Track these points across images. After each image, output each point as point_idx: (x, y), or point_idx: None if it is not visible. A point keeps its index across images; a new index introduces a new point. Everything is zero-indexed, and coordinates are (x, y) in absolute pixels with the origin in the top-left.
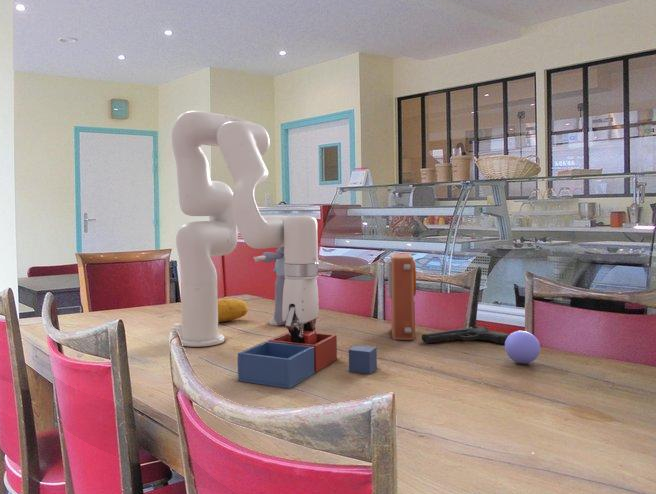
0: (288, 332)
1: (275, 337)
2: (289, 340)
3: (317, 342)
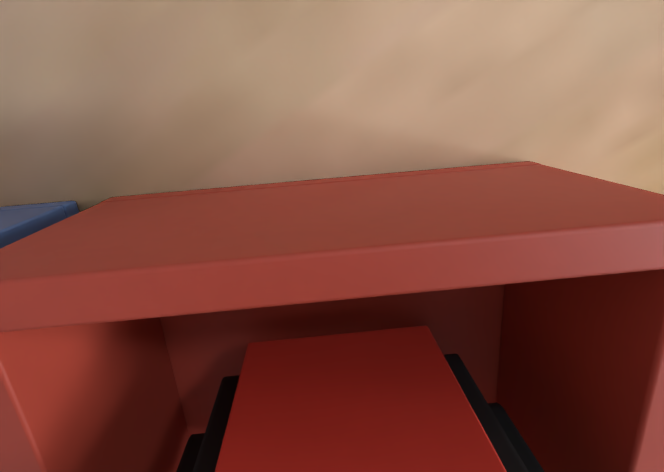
0: (584, 260)
1: (165, 280)
2: (222, 448)
3: (551, 470)
